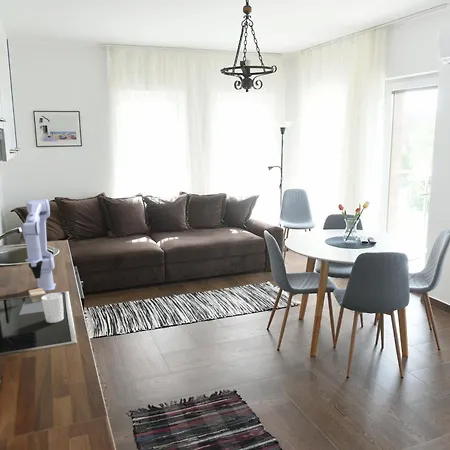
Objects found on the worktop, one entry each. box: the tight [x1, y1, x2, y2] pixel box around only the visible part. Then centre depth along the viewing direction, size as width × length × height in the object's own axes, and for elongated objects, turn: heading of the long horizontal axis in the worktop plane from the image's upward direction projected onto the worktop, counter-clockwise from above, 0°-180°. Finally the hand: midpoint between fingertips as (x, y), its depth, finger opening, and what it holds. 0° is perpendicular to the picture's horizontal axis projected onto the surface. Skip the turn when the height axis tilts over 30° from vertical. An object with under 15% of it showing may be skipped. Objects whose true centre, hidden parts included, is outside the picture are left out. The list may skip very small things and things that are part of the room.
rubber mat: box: [18, 297, 44, 316], centre depth 205 cm, size 22×14×1 cm, turn 16°
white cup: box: [41, 292, 65, 324], centre depth 185 cm, size 8×8×10 cm
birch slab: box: [28, 287, 47, 302], centre depth 212 cm, size 3×6×10 cm
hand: (37, 278), depth 209 cm, fingers closed
